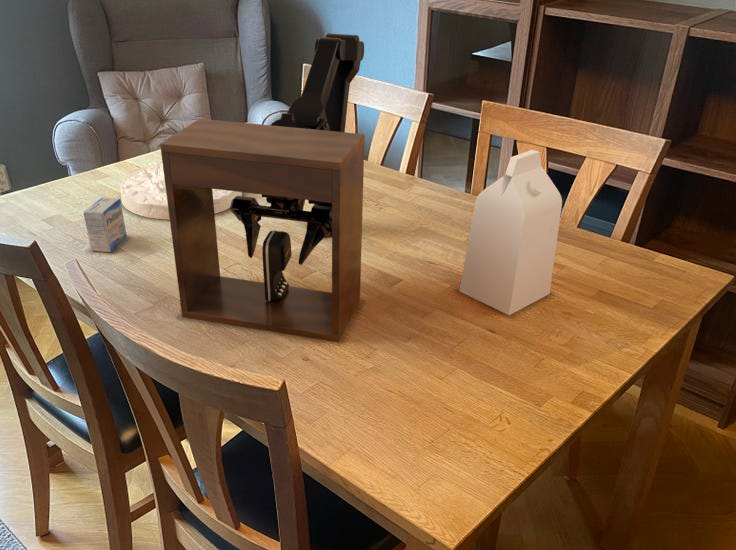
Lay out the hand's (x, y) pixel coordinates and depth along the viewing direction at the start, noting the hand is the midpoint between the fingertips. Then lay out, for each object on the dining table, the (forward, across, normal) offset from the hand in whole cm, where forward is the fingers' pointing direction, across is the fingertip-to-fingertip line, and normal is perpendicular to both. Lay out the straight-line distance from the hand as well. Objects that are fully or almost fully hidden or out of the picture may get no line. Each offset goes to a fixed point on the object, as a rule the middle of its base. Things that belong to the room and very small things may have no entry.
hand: (274, 260), depth 128 cm
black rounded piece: (+4, 0, +6) cm, 8 cm away
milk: (-5, +39, +18) cm, 43 cm away
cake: (-23, -39, +36) cm, 58 cm away
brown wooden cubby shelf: (+8, 0, +5) cm, 9 cm away
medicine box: (-3, -42, +16) cm, 45 cm away
